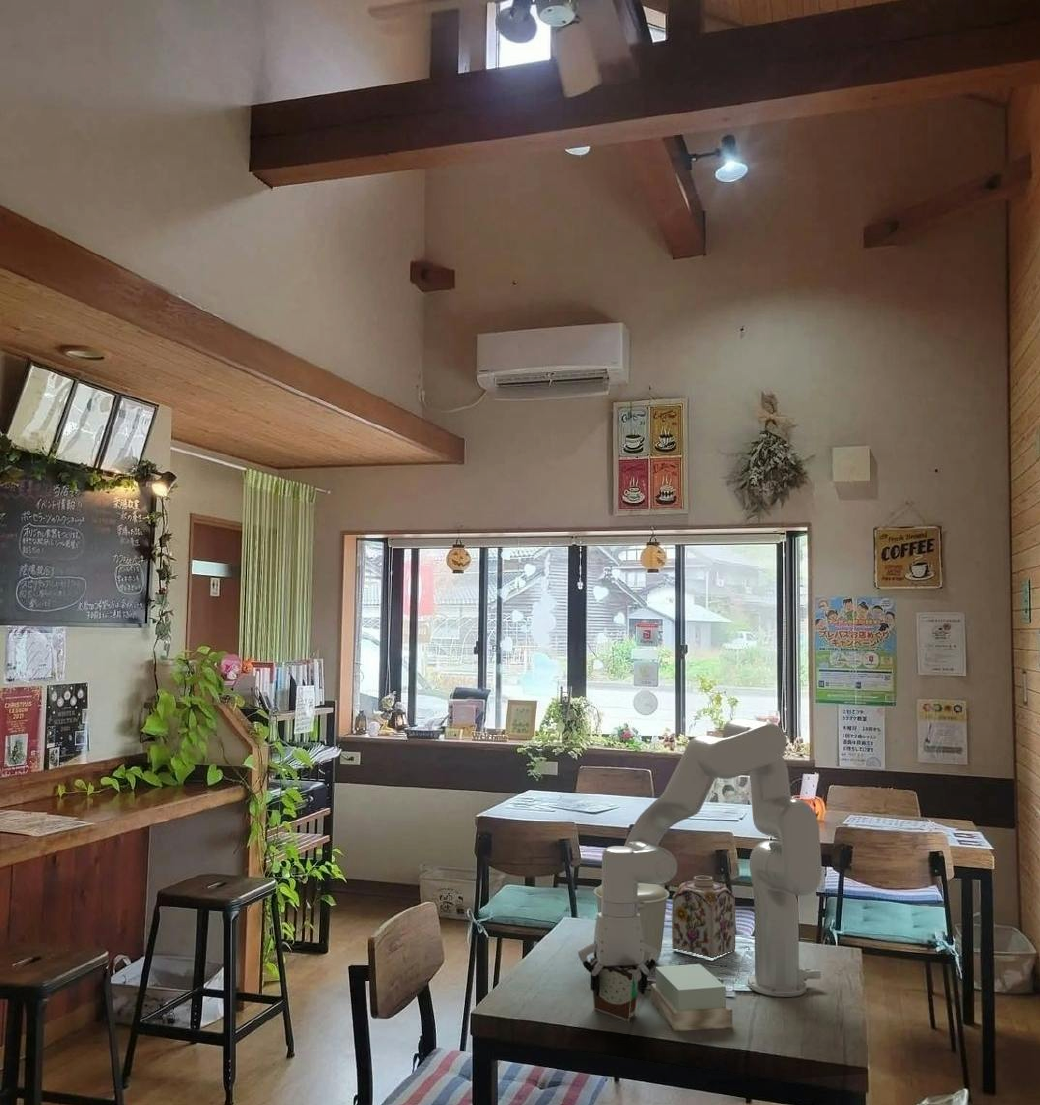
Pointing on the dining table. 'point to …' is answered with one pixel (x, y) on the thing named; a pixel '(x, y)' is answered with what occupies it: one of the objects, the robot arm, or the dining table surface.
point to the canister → (648, 913)
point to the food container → (617, 991)
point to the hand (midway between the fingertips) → (618, 993)
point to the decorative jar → (703, 918)
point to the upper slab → (690, 987)
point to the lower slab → (691, 1014)
